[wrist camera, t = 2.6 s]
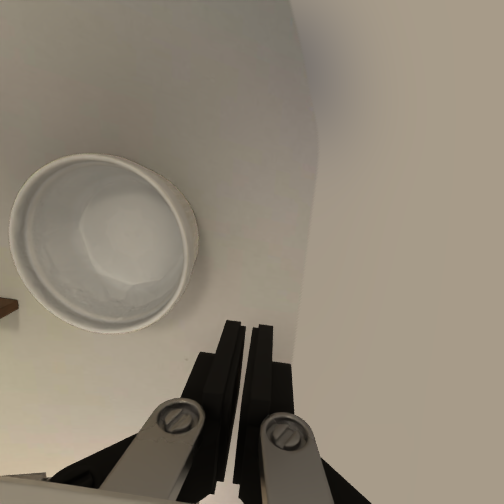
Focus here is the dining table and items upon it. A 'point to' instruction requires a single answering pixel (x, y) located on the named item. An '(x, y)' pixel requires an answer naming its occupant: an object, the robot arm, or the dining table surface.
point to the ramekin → (103, 242)
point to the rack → (7, 306)
